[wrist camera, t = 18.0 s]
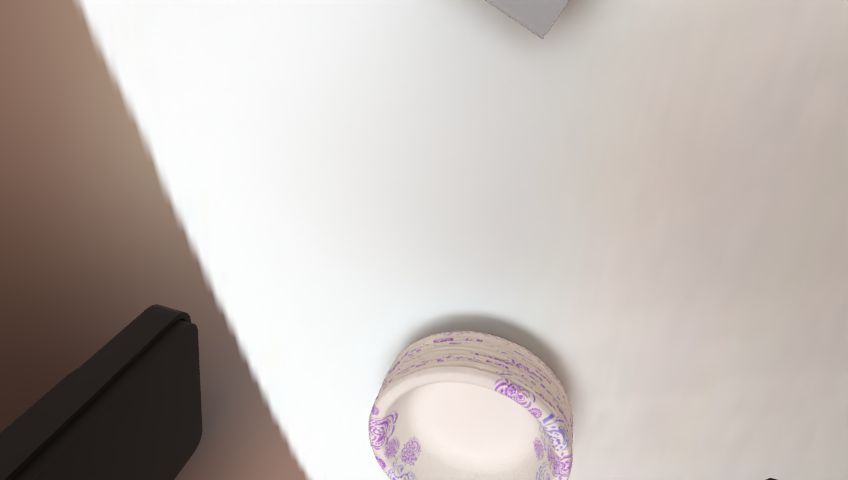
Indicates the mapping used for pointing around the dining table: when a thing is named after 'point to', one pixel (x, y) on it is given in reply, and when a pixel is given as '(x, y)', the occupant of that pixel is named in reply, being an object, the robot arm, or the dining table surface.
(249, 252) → the dining table surface
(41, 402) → the robot arm
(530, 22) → the slate slab
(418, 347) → the paper bowls
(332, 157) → the dining table surface
